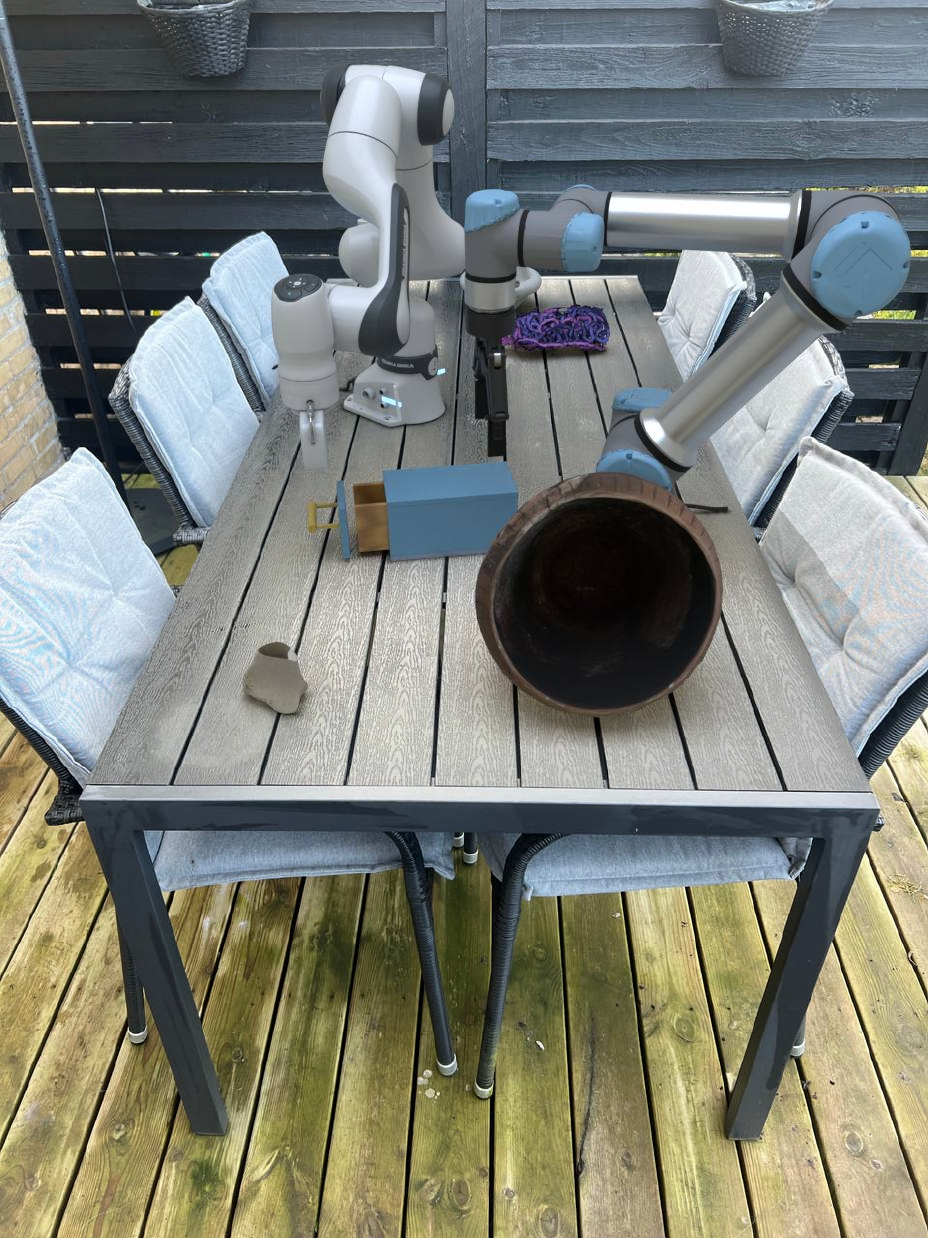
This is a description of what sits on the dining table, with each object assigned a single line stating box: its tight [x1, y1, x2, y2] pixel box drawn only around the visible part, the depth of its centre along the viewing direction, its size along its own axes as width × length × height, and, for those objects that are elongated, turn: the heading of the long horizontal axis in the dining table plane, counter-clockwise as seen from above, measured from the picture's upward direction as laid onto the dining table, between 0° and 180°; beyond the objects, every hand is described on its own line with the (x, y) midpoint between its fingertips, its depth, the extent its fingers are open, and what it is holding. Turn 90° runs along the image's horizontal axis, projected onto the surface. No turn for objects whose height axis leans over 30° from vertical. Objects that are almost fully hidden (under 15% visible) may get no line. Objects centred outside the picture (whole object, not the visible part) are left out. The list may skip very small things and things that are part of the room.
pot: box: [474, 471, 724, 718], centre depth 130 cm, size 32×32×30 cm
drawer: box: [307, 480, 390, 559], centre depth 157 cm, size 25×10×9 cm, turn 98°
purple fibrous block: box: [501, 303, 611, 354], centre depth 226 cm, size 13×11×30 cm
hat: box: [459, 267, 543, 309], centre depth 248 cm, size 25×22×15 cm
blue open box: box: [382, 460, 519, 562], centre depth 158 cm, size 22×11×11 cm, turn 98°
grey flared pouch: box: [241, 641, 309, 715], centre depth 126 cm, size 9×8×10 cm
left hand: (319, 469), depth 150 cm, fingers closed
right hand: (489, 436), depth 150 cm, fingers open, 13 cm apart
